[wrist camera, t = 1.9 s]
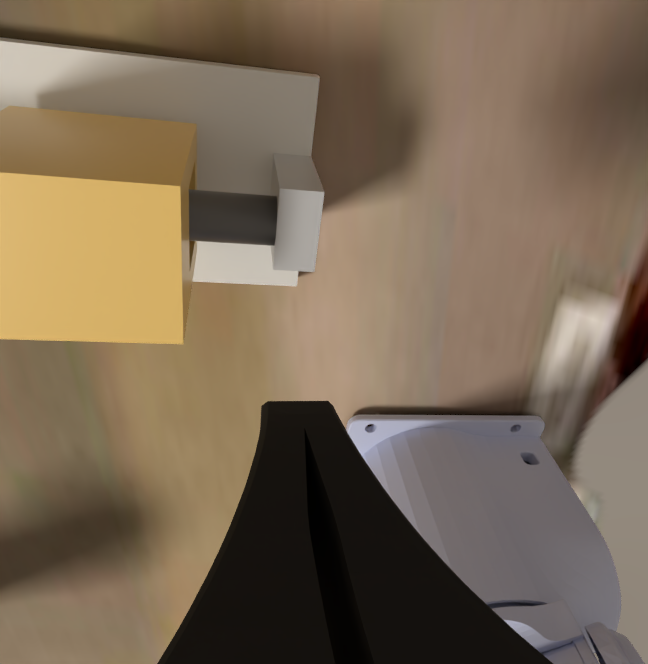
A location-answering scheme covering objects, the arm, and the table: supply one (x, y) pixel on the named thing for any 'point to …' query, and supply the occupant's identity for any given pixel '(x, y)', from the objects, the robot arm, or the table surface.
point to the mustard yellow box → (95, 226)
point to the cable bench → (203, 144)
